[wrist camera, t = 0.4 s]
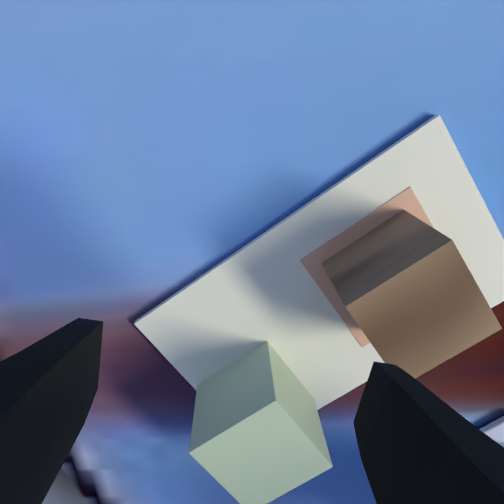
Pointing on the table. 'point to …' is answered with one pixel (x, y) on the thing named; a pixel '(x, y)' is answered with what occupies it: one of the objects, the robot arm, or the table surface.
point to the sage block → (258, 428)
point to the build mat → (315, 277)
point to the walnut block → (411, 294)
